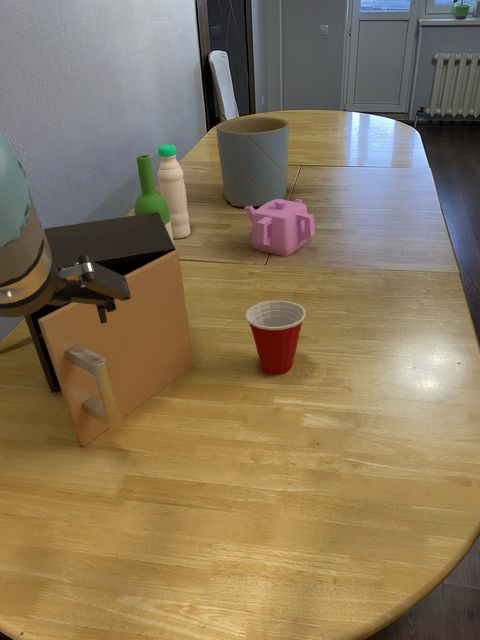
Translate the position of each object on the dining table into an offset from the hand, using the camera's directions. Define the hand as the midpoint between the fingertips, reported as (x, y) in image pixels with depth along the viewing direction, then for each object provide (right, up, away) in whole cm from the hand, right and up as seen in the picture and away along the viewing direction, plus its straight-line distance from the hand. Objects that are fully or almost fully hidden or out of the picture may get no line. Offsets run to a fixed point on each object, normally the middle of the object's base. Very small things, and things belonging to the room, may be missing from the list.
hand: (43, 325), depth 62 cm
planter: (+24, +48, +113) cm, 125 cm away
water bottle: (+2, +31, +90) cm, 95 cm away
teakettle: (+31, +27, +83) cm, 92 cm away
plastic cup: (+29, -6, +37) cm, 47 cm away
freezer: (-3, -3, +42) cm, 42 cm away
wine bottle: (+2, +14, +66) cm, 68 cm away
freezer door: (+8, -13, +28) cm, 32 cm away
